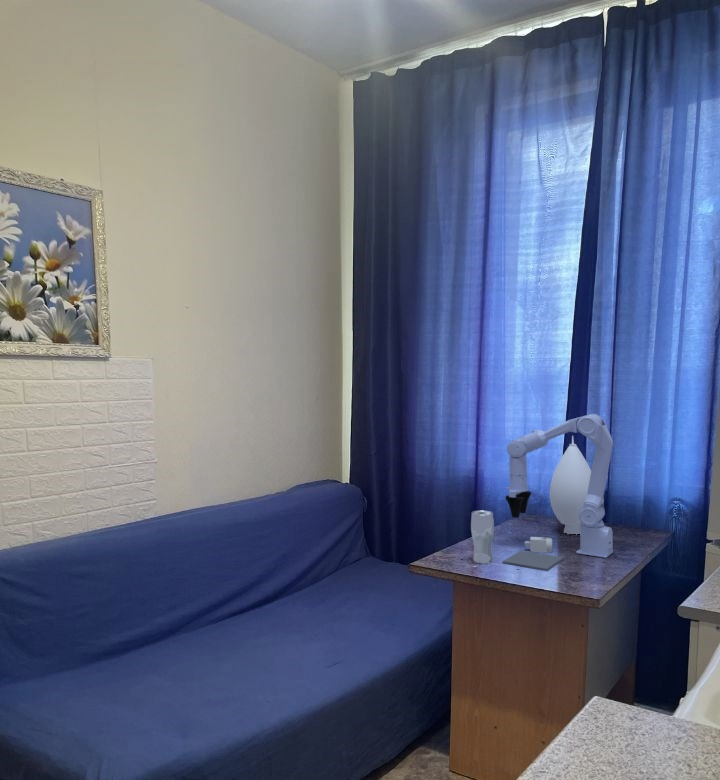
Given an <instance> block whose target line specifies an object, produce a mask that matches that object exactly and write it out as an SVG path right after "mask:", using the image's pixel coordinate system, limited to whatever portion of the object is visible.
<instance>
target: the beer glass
mask: <svg viewBox="0 0 720 780" xmlns="http://www.w3.org/2000/svg"><path fill="white" fill-rule="evenodd" d="M470 519H471V520H470V531H471V532H470V533H471V538H472V542H473V543H472V544H473V558H472V562H474V563H476V564H483V565H486V564H487V565H488V564H491V563H494V562H493V561H494V557H493V553H492V548H493V547H492V546H493V541H494V533H495V521H494V520H495V519H494V512H493V511H489V510H483V509H482V510H480V509H479V510H473V511H472V512H471V518H470Z"/></svg>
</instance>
